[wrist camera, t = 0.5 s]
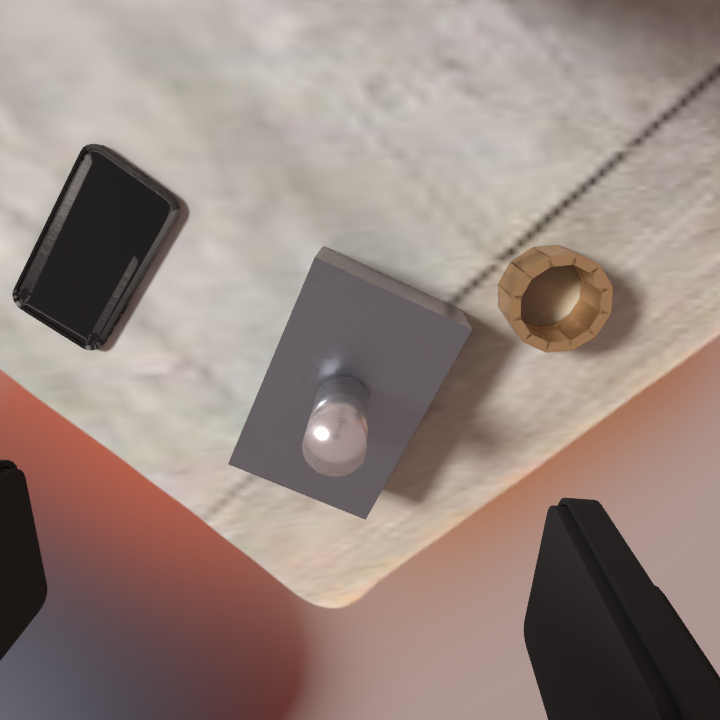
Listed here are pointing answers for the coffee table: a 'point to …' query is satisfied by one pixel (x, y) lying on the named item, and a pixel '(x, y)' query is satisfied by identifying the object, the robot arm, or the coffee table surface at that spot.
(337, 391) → the grey peg board
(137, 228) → the phone
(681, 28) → the coffee table surface
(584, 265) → the bronze ring
